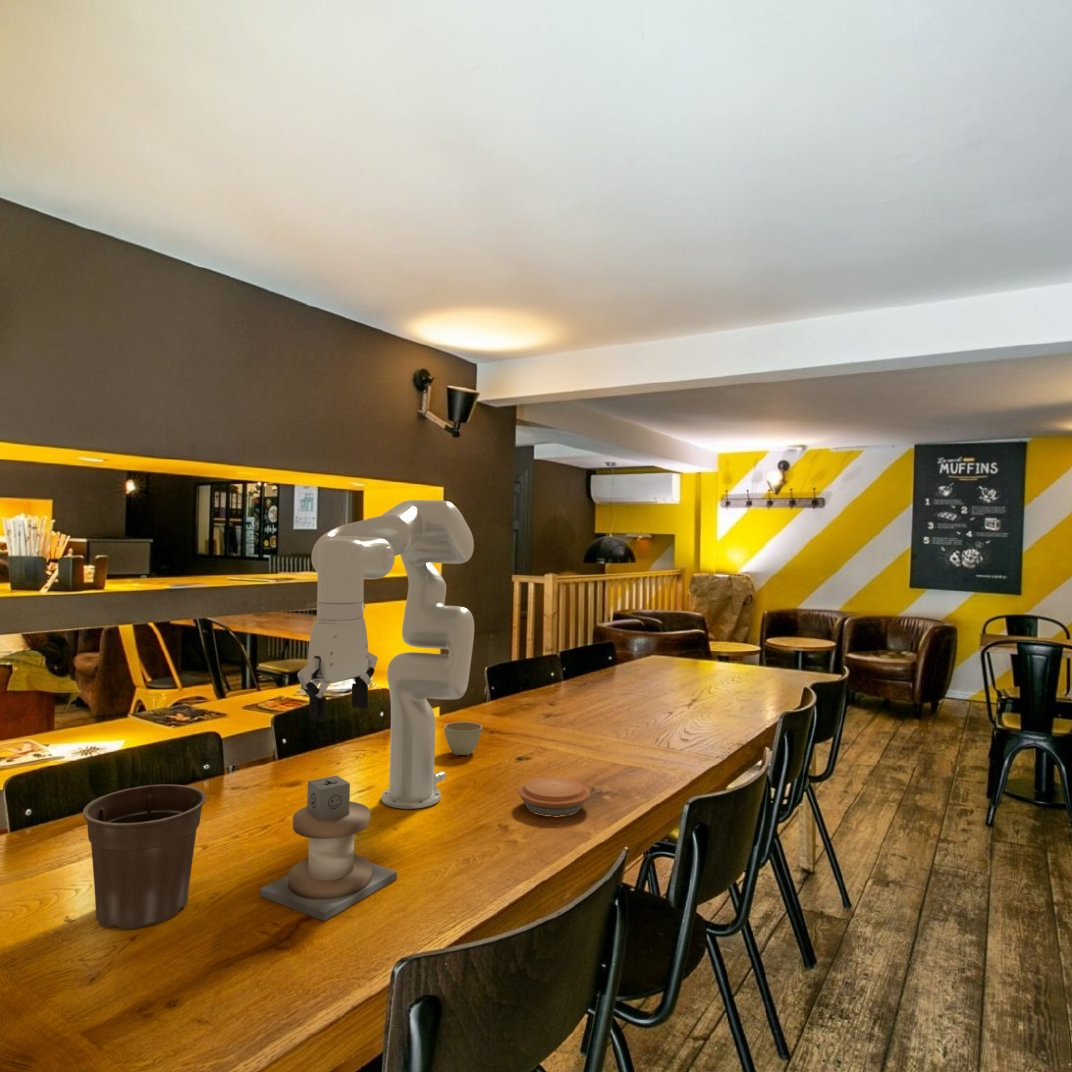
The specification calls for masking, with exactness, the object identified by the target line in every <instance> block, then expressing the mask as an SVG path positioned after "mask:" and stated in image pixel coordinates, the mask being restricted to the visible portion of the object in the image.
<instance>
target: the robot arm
mask: <svg viewBox="0 0 1072 1072" xmlns="http://www.w3.org/2000/svg"><path fill="white" fill-rule="evenodd" d="M474 542H475V541H474V537H473V534H472V531H471V529H470V527H469V525H468V524H467V521H466V520H465V517H464V516H463V514H462V513H461V512H460V510H459V509H458V508H457V506H456V505H454V504H453V503H452V502H450V501H448V500H439V499H438V500H434V499H429V500H427V499H425V500H424V499H411V500H404V501H402V502H400V503H398V504H396V505H395V506H393V507H392V508H390V509H389V510H387V511H386V512H384V513H383V514H381V515H378V516H374V517H370V518H366V519H362V520H359V521H355V522H350V523H347V524H342V525H339V526H337V527H334V528H332V529H331V530H329V531H327V532H326V533H324V534H323V535H321V536H320V537H319V538H318V540H316V542H315V544H314V546H313V548H312V551H311V565H312V567H313V569H314V570H315V572H316V573H317V587H316V588H317V590H316V591H317V594H316V595H317V597H316V598H317V599H316V600H317V601H316V621H313V622H312V623H313V624H312V626H311V632H310V636H309V643H308V653H307V664H306V665H305V666H304V667H303V668H301V670H299V671H298V672H297V675H296V676H297V678H298V681H299V683H300V684H301V686H300V687H301V689H302V690H303V691H304V692H305V695H306V696H308V697H309V700H308V701H309V703H308V704H309V705H308V706H309V709H308V711H309V712H308V713H309V714H308V717H309V720H311V721H315V722H319V723H322V722H325V721H327V697H326V696H324V695H325V693H326V691H327V689H329V688H328V687H329V686H330V685H331V684H336V683H341V682H345V681H348V680H351V679H352V680H353V681H354V683H352V684H351V706H352V707H353V708H357V709H363V710H366V709H368V708H369V706H368V705H369V685H370V684H371V683H372V680H371V679H372V677H373V676H374V674H375V671H376V670H375V668H376V665H377V662H378V656H377V655H375V654H373V653H371V652H369V642H368V632H367V631H368V630H367V625H366V619H365V618H364V610H365V607H366V606H365V603H364V600H365V597H364V596H365V595H364V593H365V591H364V589H365V586H364V585H365V584H364V583H365V581H364V580H379V579H382V578H384V577H386V576H388V575H389V573H390V572H391V570H392V569H393V567H394V565H395V556H399V555H400V558H401V561H402V564H403V567H404V569H405V572H406V576H407V582H408V586H407V595H406V596H407V597H406V600H405V602H406V603H405V607H404V614H403V620H402V627H401V628H402V629H401V630H402V631H401V633H402V634H401V635H402V639H403V642H404V643H405V644H406V645H408V646H410V647H415V648H421V649H436V650H437V649H438V650H439V649H441V650H448V654H445V653H430V652H416V651H415V652H414V651H413V652H402V653H400V654H397V655H395V656H394V657H392V658H391V660H390V661H389V662H388V663H389V664H388V665H387V666H388V667H387V672H386V673H387V675H386V677H387V683H388V684H387V685H388V691H389V699H390V700H389V701H390V742H389V743H390V744H389V745H390V746H389V748H390V749H389V787H388V789H386V790H384V791H383V792H382V794H381V802H382V803H383V804H384V805H386V806H388V807H391V808H393V809H394V808H395V809H404V810H412V809H413V810H415V809H423V808H427V807H431V806H433V805H436V804H437V803H438V802H440V800H441V798H442V796H441V795H442V793H441V791H440V790H439V789H438V788H437V784H438V783H439V782H442V781H444V780H445V779H446V777H447V774H446V772H445V771H443V770H442V771H441V770H440V771H438V772H437V773H436V772H435V755H436V753H435V752H436V751H435V748H436V716H435V712H434V710H433V707H432V706H431V704H430V703H429V701H428V700H427V699H435V700H451V701H452V700H458V699H461V698H462V697H464V695H465V694H466V692H467V690H468V686H469V679H470V672H471V665H472V664H471V663H472V655H473V649H474V648H473V647H474V638H475V621H474V617H473V614H472V612H471V611H470V610H469V609H468V608H466V607H464V606H459V605H445V604H446V595H447V583H446V581H445V579H444V578H443V576H442V574H441V573H440V572H439V570H437V568H436V567H435V566H434V564H449V565H450V564H455V565H456V564H457V565H459V564H464V563H467V562H468V561H469V560H471V558H472V555H473V553H474V548H475V547H474V546H475V544H474ZM319 684H320V685H319ZM318 686H319V687H318Z"/></svg>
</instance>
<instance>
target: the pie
mask: <svg viewBox="0 0 1072 1072" xmlns="http://www.w3.org/2000/svg"><path fill="white" fill-rule="evenodd" d="M517 794H518V795H519V797H520V799H522V801H523V803H524V805H525V806H527V807H526V808H527V809H529V810H531V811H532V812H535V813H538V814H543V815H551V816H560V815H569V814H572V813H575V812H577V811H579V812H580V810H581V809H582V808H583V805H584V804H585V803H586V801H588V799H589V798H590V795H591V790H590V789H589V788H588V787H586V786H585V785H584V784H582V783H580V782H578V781H577V780H573V779H570V778H566V777H565V778H564V777H559V776H558V777H556V776H553V777H552V776H548V777H547V776H546V777H538V778H534V779H531V780H529V781H527V782H525V783H523V784H521V785H520V786H519V787H518V788H517ZM529 810H528V811H529ZM531 811H530V812H531ZM532 812H531V813H532ZM577 813H578V812H577Z"/></svg>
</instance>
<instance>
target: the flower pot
mask: <svg viewBox="0 0 1072 1072" xmlns="http://www.w3.org/2000/svg"><path fill="white" fill-rule="evenodd" d="M443 727H444V728H443V729H444V736H445V739H446V743H447V745H448V747H449V749H450V751H451V752H452V754H453V755H454V754H455V755H454V756H458V755H467V756H470V755H469V754H471V753H472V754H473V753H474V751H475V749H477V745H478V744H479V741H480V738H481V735H482V730H483V726H482V724H479V723H477V722H470V721H457V722H450V723H446V724H445V725H444V726H443ZM472 754H471V755H472Z"/></svg>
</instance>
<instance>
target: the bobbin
mask: <svg viewBox="0 0 1072 1072" xmlns="http://www.w3.org/2000/svg"><path fill="white" fill-rule="evenodd" d="M370 824H371V809H370V808H369V807H368V806H366V805H365V804H362V803H359V802H356V801H350V803H349V815H345V816H341V817H337V818H332V819H328V820H324V821H318V820H317V819H316V818H314V817H313V816H312V815H310V814H309V813H308V812H307V806H305V807H302V808H300V809H299V810H298V811H296V812H295V813H294V815H293V816H292V830H293V831H294V833H295V834H297V835H299V836H301V837H304V838H308V858H306V859H304V860H302V861H300V862H297V863H296V864H295V865H294V866H292V867H291V868H290V870H289V872H288V874H287V875H286V876H283V877H281V878H279V879H277V880H275V881H273V882H270V883H268V884H267V885H265V886H263V887H260V888H259V896H260V897H262V898H263V899H266V900H269V901H270V902H275V903H276V904H280V905H281V906H284V907H286V908H290V909H292V910H295V911H297V912H299V913H302V914H304V915H308V916H310V917H313V918H315V919H318V920H320V921H323V922H326V921H328V920H329V919H331V918H332V917H334V916H336V915H337V914H339V913H341V912H342V911H344V910H346V909H348V908H350V907H352V906H353V905H355V904H356V903H358V902H360V901H362V900H364V899H365V898H367V897H368V896H370V895H372V894H374V893H376V892H377V891H379V890H380V889H382V888H384V887H386V886H387V885H389V884H390V883H393V882H394V881H396V880H397V879H398V871H396V870H393V869H390V868H387V867H384V866H381V865H378V864H376V863H375V864H374V863H372V862H371V861H370V860H369V859H367V857H364V856H361V855H358V854H354V852H355V850H354V849H355V834H358V833H360V832H362V831H364V830H366V829H367V828H368V826H370Z"/></svg>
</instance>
